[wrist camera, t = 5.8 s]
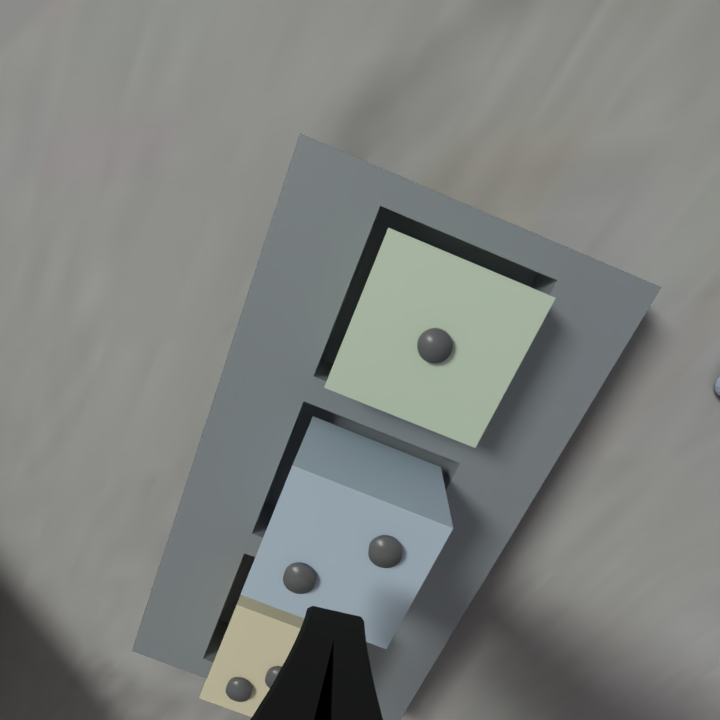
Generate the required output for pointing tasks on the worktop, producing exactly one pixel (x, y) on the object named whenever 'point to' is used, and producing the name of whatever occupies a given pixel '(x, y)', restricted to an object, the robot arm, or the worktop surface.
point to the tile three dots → (250, 655)
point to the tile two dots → (352, 531)
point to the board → (309, 398)
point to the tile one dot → (436, 338)
